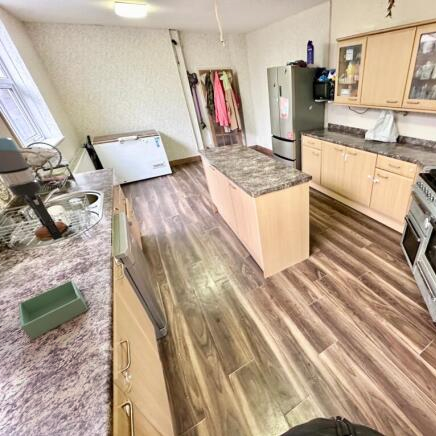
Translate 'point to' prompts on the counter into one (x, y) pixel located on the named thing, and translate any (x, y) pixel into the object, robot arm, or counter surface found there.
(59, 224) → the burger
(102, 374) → the counter surface
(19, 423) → the counter surface
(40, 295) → the green shallow tray
